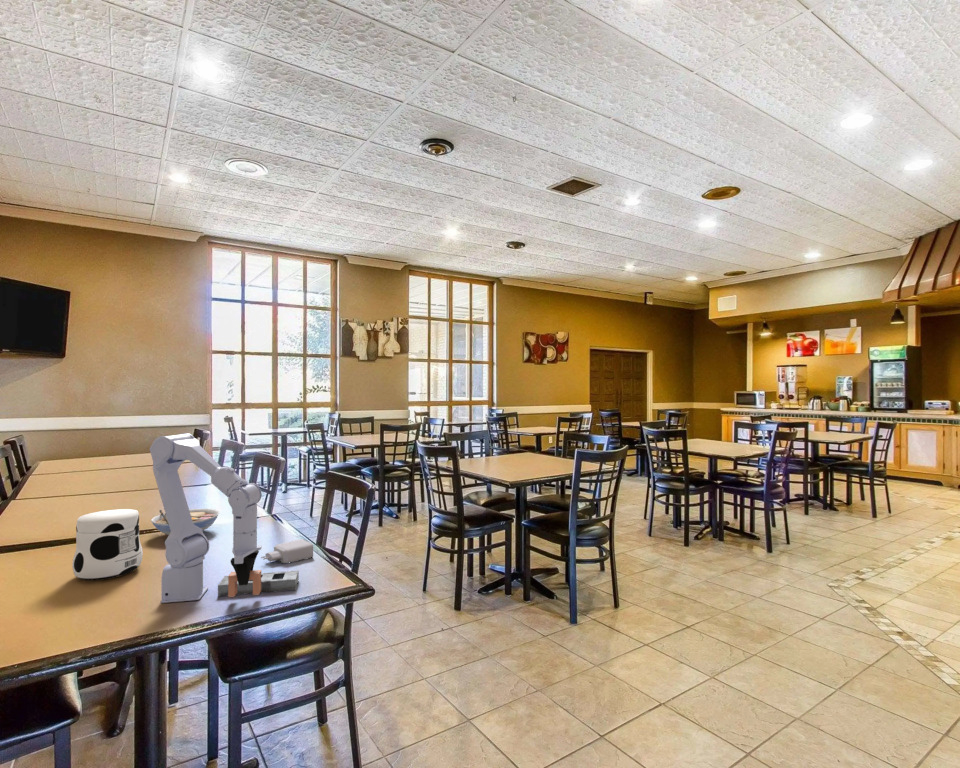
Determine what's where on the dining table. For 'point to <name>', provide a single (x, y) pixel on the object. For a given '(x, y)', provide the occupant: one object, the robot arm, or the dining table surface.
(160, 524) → the ramen bowl
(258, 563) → the dining table surface
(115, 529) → the milk container
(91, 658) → the dining table surface
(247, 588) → the gray rectangular frame
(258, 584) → the orange u-shaped block
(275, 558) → the charger
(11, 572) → the dining table surface
